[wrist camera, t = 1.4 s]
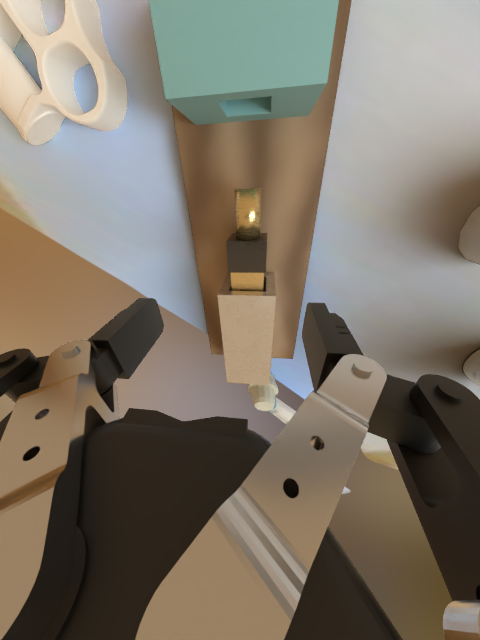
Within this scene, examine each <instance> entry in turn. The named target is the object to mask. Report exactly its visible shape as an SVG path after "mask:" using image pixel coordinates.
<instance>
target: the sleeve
mask: <svg viewBox="0 0 480 640" xmlns="http://www.w3.org/2000/svg"><path fill="white" fill-rule="evenodd" d="M217 296H218V305H219V314H220V323H221V332H222V341H223V350H224V358H225V368H226V377H227V382H230V383H243V384H256V385H269V381H270V368H271V355H272V342H273V329H274V316H275V303H276V288H275V274H274V273H264V288H263V292H261V291H232V287H231V273H227V275H226V277H225V280H224V282H223V284H222V286H221V288H220V290H219V292H218V295H217Z"/></svg>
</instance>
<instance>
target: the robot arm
mask: <svg viewBox="0 0 480 640" xmlns="http://www.w3.org/2000/svg"><path fill="white" fill-rule="evenodd" d="M163 327H164V325H163V320H162V317H161V314H160V310H159V307H158V304H157V302H156V300H155V299H153V298H139V299H137V300H136V301H135V302H134V303H133V304H132V305H130V306H129V307H128V308H127V309H125V310H123V311H121V312H120V313H119V314H117V315H116V316H115V317H114V319H112V320H110V321H109V323H108V324H106V325H105V326H103V327H102V328H101V329H100V330H99V331H98V332H96V333H95V334H94V335H93V336H92V337H91V338H89V339H88V340H76V341H72V342H69V343H67V344H64V345H62V346H60V347H59V348H57V349H56V350H54V352H52V353H51V354H50V356H45V357H38V358H36V357H35V356H34V355H33V353H32V352H31V351H30V350H29V349H16V350H13V351H9V352H6V353H4V354H1V355H0V397H1V396H2V395H3V394H6V395H7V396H8V397H9V398H11V399H12V400H13V401H14V402H15V403H16V405H15V407H14V410H13V411H12V412H11V413H10V414H8V415H7V416H6V417H5V418H4V419H3V420H2V421H1V422H0V640H403V639H402V638H401V636H400V635H399V633H398V632H397V630H396V629H395V627H394V626H393V624H392V622H391V621H390V619H389V618H388V616H387V615H386V613H385V612H384V610H383V609H382V607H381V606H380V604H379V603H378V601H377V600H376V598H375V597H374V595H373V593H372V592H371V590H370V589H369V588H368V586H367V584H366V583H365V581H364V580H363V578H362V577H361V575H360V574H359V572H358V571H357V569H356V568H355V566H354V564H353V563H352V561H351V560H350V558H349V557H348V555H347V554H346V552H345V551H344V550H343V548H342V546H341V545H340V543H339V542H338V540H337V539H336V537H335V535H334V534H333V532H332V531H331V529H330V528H329V526H328V525H329V522H330V520H331V517H332V515H333V513H334V510H335V508H336V506H337V503H338V501H339V498H340V496H341V493H342V491H343V489H344V486H345V484H346V481H347V479H348V477H349V474H350V472H351V469H352V467H353V464H354V462H355V459H356V457H357V455H358V453H359V450H360V448H361V445H362V443H363V440H364V438H365V436H366V433H367V432H370V433H372V434H375V435H377V436H380V437H382V438H385V439H387V442H388V444H389V446H390V449H391V451H392V454H393V456H394V459H395V461H396V464H397V466H398V469H399V471H400V473H401V475H402V478H403V481H404V483H405V485H406V488H407V491H408V493H409V495H410V498H411V500H412V502H413V505H414V508H415V510H416V513H417V515H418V517H419V520H420V522H421V525H422V527H423V530H424V532H425V534H426V537H427V539H428V542H429V544H430V547H431V549H432V551H433V554H434V557H435V559H436V561H437V564H438V566H439V569H440V571H441V573H442V576H443V578H444V581H445V583H446V586H447V588H448V591H449V593H450V596H451V598H452V601H453V602H451V603H449V605H448V606H447V607H446V609H445V612H444V616H443V630H444V637H445V640H480V400H479V399H478V397H477V396H476V395H475V394H474V393H472V392H471V391H470V390H469V389H467V388H466V387H464V386H463V385H461V384H459V383H458V382H456V381H454V380H451V379H449V378H446V377H443V376H439V375H432V374H428V375H423V376H421V377H420V378H419V379H418V381H417V382H416V383H414V382H410V381H407V380H403V379H400V378H396V377H393V376H390V375H387V374H386V372H385V370H384V369H383V367H382V366H381V365H380V364H378V363H377V362H376V361H374V360H372V359H370V358H368V357H366V356H364V355H363V354H362V352H361V350H360V348H359V347H358V345H357V343H356V341H355V339H354V338H353V336H352V334H351V332H350V331H349V329H348V328H347V325H346V323H345V322H344V320H343V319H342V318H341V317H339V316H338V315H337V314H335V313H329V311H328V309H327V307H326V305H325V303H308V304H307V307H306V313H305V318H304V324H303V330H302V338H303V343H304V348H305V352H306V357H307V361H308V365H309V370H310V374H311V379H312V383H313V387H314V391H312V392H311V393H310V394H309V395H308V397H307V398H306V399H305V401H304V402H303V403H302V405H301V406H300V407H299V409H298V410H297V411H296V413H295V414H294V415H293V417H292V418H291V419H290V421H289V422H288V423H287V425H286V426H285V427H284V429H283V430H282V431H281V433H280V434H279V435H278V437H277V438H276V439H275V441H274V442H273V443H272V444H271V443H270V442H269V441H268V440H266V439H265V438H264V437H262V436H261V435H259V434H257V433H256V432H254V431H251V430H248V420H247V419H237V418H228V417H211V418H204V419H198V420H192V421H180V420H178V419H175V418H173V417H171V416H168V415H165V414H163V413H161V412H159V411H154V410H144V409H133V408H129V410H128V411H127V413H126V414H125V416H124V417H123V418H122V419H119V408H118V395H117V385H116V384H115V380H116V379H117V378H123V379H129V378H130V377H131V375H132V374H133V372H134V371H135V370H136V368H137V367H138V365H139V364H140V363H141V361H142V360H143V358H144V357H145V356H146V354H147V353H148V352H149V350H150V349H151V347H152V346H153V345H154V343H155V342H156V340H157V339H158V338H159V336H160V335H161V333H162V331H163ZM463 371H464V373H465V375H466V376H467V377H468V378H470V379H471V380H472V381H473V382H474V383H475V384H476V385H477V386H478V387H479V388H480V349H479V350H478V351H476V352H475V353H473V354H472V355H471V356H470V357H469V358H468V359H467V360H466V362H465V363H464V366H463Z"/></svg>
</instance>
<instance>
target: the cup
mask: <svg viewBox="0 0 480 640" xmlns="http://www.w3.org/2000/svg"><path fill="white" fill-rule="evenodd" d="M458 249H459V250H460V252H461V253H462V255H463V256H464V258H465V259H467V260H469V261H472V262H475V263H477V264H480V205H479V206H478V207H477V208H476V209H475V210H474V211H473V212H472V213H471V215H470V216H469V218H468V220H467V221H466V223H465V225H464V226H463V228H462V230H461V231H460V237H459V246H458Z"/></svg>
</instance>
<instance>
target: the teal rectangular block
mask: <svg viewBox="0 0 480 640" xmlns="http://www.w3.org/2000/svg"><path fill="white" fill-rule="evenodd" d="M338 4H339V0H149V6H150V12H151V18H152V24H153V30H154V35H155V41H156V47H157V53H158V59H159V65H160V71H161V76H162V82H163V88H164V94H165V99H166V100H167V101H168V102H169V103H170V104H172V105H173V106H174V107H175V108H176V109H177V110H179V111H180V112H181V113H182V114H183V115H185V116H186V117H187V118H188V119H189V120H191V121H192V122H193V123H194V124H195V125H203V124H215V123H227V122H239V121H252V120H264V119H276V118H288V117H300V116H309V114H310V112H311V111H312V109H313V107H314V105H315V104H316V102H317V100H318V98H319V96H320V95H321V93H322V91H323V89H324V88H325V86H326V84H327V81H328V74H329V67H330V60H331V53H332V46H333V39H334V32H335V25H336V18H337V11H338Z"/></svg>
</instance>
